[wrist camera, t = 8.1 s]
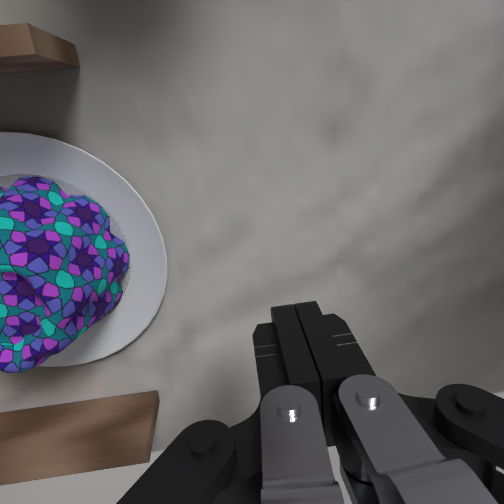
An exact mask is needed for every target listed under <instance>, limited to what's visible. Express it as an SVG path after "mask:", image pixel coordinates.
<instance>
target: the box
mask: <svg viewBox="0 0 504 504" xmlns="http://www.w3.org/2000/svg"><path fill="white" fill-rule="evenodd" d="M75 67H80V65H79V61H78V57H77V53H76V49H75V45H74V44H72V43H70V42H68V41H65V40H63V39H61V38H59V37H57V36H54V35H52V34H50V33H48V32H45V31H43V30H41V29H39V28H37V27H34V26H32V25H30V24H28V23H25V24H11V25H0V74H1V73H13V72H25V71H38V70H50V69H62V68H75ZM159 402H160V400H159V396H158V392H157V391H150V392H143V393H136V394H129V395H122V396H115V397H108V398H101V399H94V400H87V401H80V402H73V403H66V404H59V405H52V406H45V407H38V408H31V409H24V410H17V411H10V412H3V413H0V485H6V484H13V483H19V482H25V481H32V480H38V479H45V478H51V477H58V476H64V475H70V474H77V473H83V472H90V471H96V470H102V469H109V468H115V467H121V466H128V465H135V464H141V463H147V462H149V461H150V455H151V449H152V443H153V437H154V431H155V426H156V420H157V414H158V408H159Z"/></svg>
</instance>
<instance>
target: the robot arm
mask: <svg viewBox="0 0 504 504" xmlns="http://www.w3.org/2000/svg"><path fill="white" fill-rule="evenodd" d="M271 318H272V322H271V323H264V324H257V327H256V329H255V331H254V333H253V343H254V350H255V358H256V365H257V373H258V380H259V387H260V395H261V399H260V403H259V406H258V408H257V409H256V411H255V412H254V413H253V414H252V415H251V416H250V417H249V418H248V419H246V420H245V421H243V422H241V423H239V424H237V425H234V426H232V427H230V428H229V427H228V426H226V425H225V424H224V423H222V422H219V421H216V420H203V421H199V422H196V423H194V424H192V425H190V426H188V427H187V428H185V429H184V430H183V431H182V432H181V433H180V434H179V435H178V436H177V437H176V438H175V440H174V441H173V442H172V443H171V444H170V445H169V446H168V447H167V448H166V449H165V451H164V452H163V453H162V454H161V455H160V456H159V457H158V458H157V459H156V460H155V462H154V463H153V464H152V465H151V466H150V467H149V468H148V469H147V470H146V472H145V473H144V474H143V475H142V476H141V477H140V478H139V479H138V480H137V481H136V483H135V484H134V485H133V486H132V487H131V488H130V489H129V490H128V491H127V492H126V493H125V495H124V496H123V497H122V498H121V499H120V500H119V501H118V502H117V503H116V504H344V500H343V496H342V492H341V489H340V486H339V483H338V482H337V481H335V479H334V475H333V471H332V466H331V463H330V458H329V453H328V449H327V447H330V446H336V448H337V451H338V454H339V457H340V473H341V476H342V479H343V481H344V484H345V486H346V489H347V491H348V494H349V496H350V499H351V501H352V503H353V504H504V474H502V473H501V472H499V471H497V470H496V466H498V467H500V468H501V469H504V399H503V398H501V397H498V396H496V395H494V394H491V393H489V392H487V391H485V390H482V389H480V388H477V387H474V386H471V385H466V384H451V385H447V386H444V387H443V388H441V389H440V390H439V391H438V393H437V396H436V399H430V398H421V397H412V396H407V395H403V394H400V393H397V392H396V390H395V389H394V388H393V386H392V385H390V384H389V383H388V382H387V381H385V380H383V379H381V378H379V377H377V376H376V375H375V373H374V371H373V369H372V367H371V366H370V364H369V362H368V360H367V359H366V357H365V355H364V353H363V352H362V350H361V348H360V346H359V345H358V343H357V342H356V339H355V338H354V336H353V334H352V333H351V331H350V329H349V327H348V325H347V323H346V322H345V321H344V320H342V319H341V318H340V317H338V316H337V315H335V314H328V315H323V314H322V312H321V310H320V308H319V306H318V304H317V302H316V301H311V302H304V303H297V304H294V305H293V304H290V305H283V306H276V307H271Z"/></svg>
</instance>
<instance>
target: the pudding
mask: <svg viewBox="0 0 504 504" xmlns="http://www.w3.org/2000/svg"><path fill="white" fill-rule="evenodd" d="M17 174H26V175H39V176H44V177H49V178H54V179H57V180H59V181H62V182H65V183H68V184H70V185H72V186H74V187H76V188H78V189H80V190H81V191H83V192H85V193H87V194H88V195H89V196H91V197H92V198H93V199H95V200H96V201H97V202H99V203H100V204H101V205H102V206H103V207H104V208H105V209H106V210H107V211H108V212H109V213H110V215H111V216H112V217H113V218H114V220H115V221H116V223H117V224H118V226H119V227H120V229H121V231H122V233H123V235H124V237H125V239H126V241H127V245H128V249H129V253H130V260H131V273H130V281H129V284H128V287H127V290H126V293H125V294H124V296H123V298H122V299H121V301H120V298H121V296H122V294H123V290H122V287H121V284H120V281H119V278H120V277H121V276H122V275H123V274H124V273H125V272H126V271H127V270H128V268H129V253H128V250H127V248H126V246H125V243H124V242H123V241H122V240H120V239H119V238H117V237H116V236H114V235H113V234H111V233H110V221H109V216H108V215H107V213H106V212H105V211H104V210H103V208H102V207H101V206H100V204H98V203H96V202H95V201H93V200H91V199H90V198H88V197H87V196H67V195H66V194H65V193H64V192H63V191H62V190H61V189H60V188H59V187H58V185H57V184H56V183H55V182H53V181H50V180H47V179H44V178H41V177H37V176H35V177H22V178H19V179H18V180H17V181H16V182H15V183H14V184H13V185H12V186H11V187H10V188H9V189H6V188H2V187H0V370H1V371H4V372H7V373H16V372H24V371H27V370H29V369H31V368H34V367H36V366H43V367H61V366H72V365H78V364H85V363H89V362H92V361H95V360H98V359H101V358H105V357H107V356H109V355H111V354H113V353H115V352H117V351H119V350H121V349H122V348H124V347H125V346H126V345H128V344H129V343H131V342H132V341H133V340H135V339H136V338H137V337H138V336H139V335H140V334H141V333H142V332H143V331H144V330H145V329H146V327H147V326H148V325H149V324H150V322H151V321H152V319H153V317H154V316H155V314H156V313H157V311H158V309H159V306H160V304H161V301H162V299H163V296H164V293H165V287H166V281H167V255H166V251H165V246H164V242H163V237H162V235H161V232H160V230H159V227H158V225H157V223H156V220H155V218H154V216H153V214H152V213H151V211H150V210H149V208H148V207H147V205H146V204H145V202H144V200H143V199H142V197H141V196H140V195H139V194H138V193H137V192H136V191H135V190H134V188H133V187H132V186H131V185H130V184H129V183H128V182H127V181H126V180H125V179H124V178H123V177H122V176H121V175H119V174H118V173H117V172H116V171H114V170H113V169H112V168H111V167H109V166H108V165H107V164H106V163H104V162H103V161H101V160H99V159H98V158H96V157H94V156H92V155H91V154H89V153H87V152H86V151H84V150H82V149H80V148H77V147H75V146H72V145H70V144H67V143H64V142H62V141H59V140H57V139H53V138H49V137H44V136H39V135H35V134H30V133H16V132H0V177H2V176H9V175H17ZM119 301H120V303H119ZM118 303H119V304H118ZM117 304H118V305H117ZM116 305H117V306H116ZM115 306H116V308H115V309H114V310H113V311H112V312H111V313H110V314H109V315H107V316H106V317H105V318H103V319H102V320H101V321H99V322H97V321H98V320H99V319H100V318H102V317H103V316H104V315H105V314H106V313H108V312H109V311H110V310H111V309H112V308H113V307H115ZM96 322H97V323H96Z"/></svg>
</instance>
